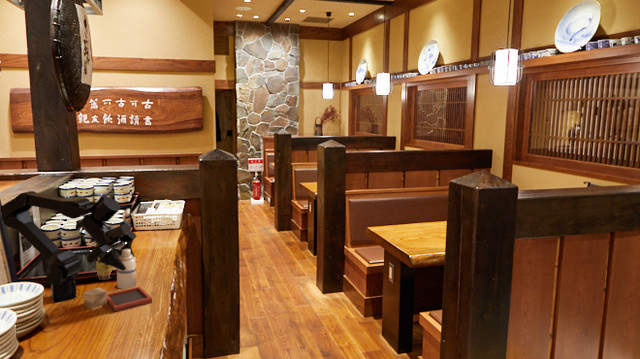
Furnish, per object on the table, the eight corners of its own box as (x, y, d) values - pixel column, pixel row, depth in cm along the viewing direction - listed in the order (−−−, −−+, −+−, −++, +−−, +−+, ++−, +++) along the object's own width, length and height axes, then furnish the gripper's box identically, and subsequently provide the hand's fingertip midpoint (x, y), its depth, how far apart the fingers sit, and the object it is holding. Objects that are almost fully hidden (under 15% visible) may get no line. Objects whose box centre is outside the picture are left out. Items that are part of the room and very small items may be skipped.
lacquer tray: (114, 312, 135) (114, 307, 135) (104, 299, 144) (104, 294, 143) (151, 302, 143) (151, 297, 142) (140, 291, 151) (139, 286, 151)
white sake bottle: (124, 290, 136) (123, 254, 134) (113, 285, 139) (112, 250, 137) (139, 284, 141) (139, 249, 139) (128, 280, 144) (128, 246, 142)
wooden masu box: (92, 309, 137) (91, 296, 136) (84, 305, 140) (83, 292, 139) (107, 304, 141) (106, 291, 140) (99, 300, 144) (98, 287, 143)
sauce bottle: (107, 281, 159) (105, 229, 156) (92, 279, 160) (90, 228, 157) (119, 275, 165) (116, 225, 162) (104, 273, 166) (102, 224, 163)
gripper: (94, 221, 128) (129, 261, 128) (131, 208, 146) (161, 242, 146) (71, 244, 130) (105, 283, 131) (110, 228, 149) (140, 262, 149)
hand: (130, 266), depth 139 cm, fingers closed on white sake bottle, 6 cm apart
